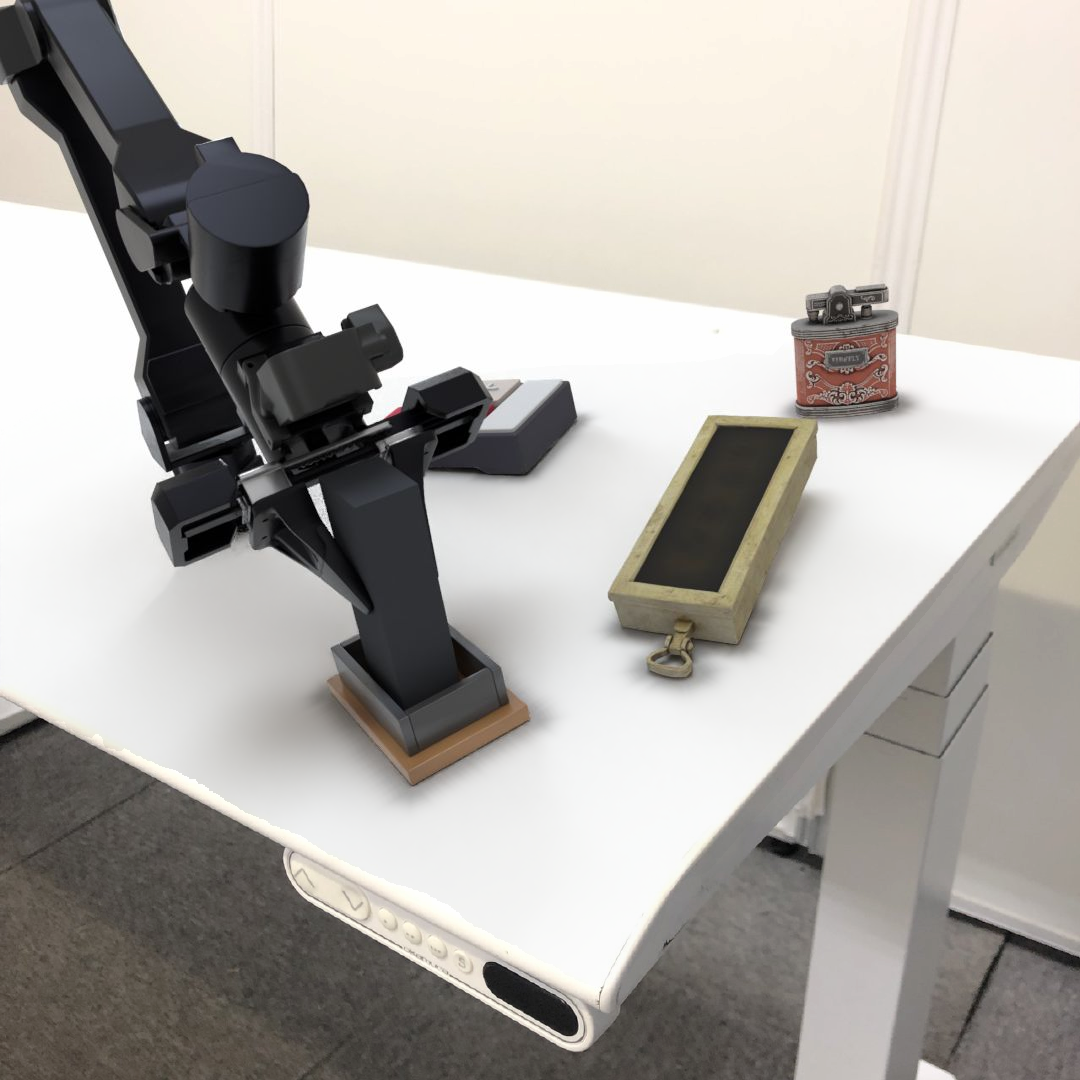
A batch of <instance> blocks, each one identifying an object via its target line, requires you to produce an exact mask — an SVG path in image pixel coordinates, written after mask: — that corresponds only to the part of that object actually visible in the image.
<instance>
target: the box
mask: <svg viewBox="0 0 1080 1080" xmlns="http://www.w3.org/2000/svg"><path fill="white" fill-rule="evenodd" d="M818 432H819V423H818V419H816V418H806V417H783V416H782V417H781V416H780V417H779V416H759V415H758V416H757V415H755V416H754V415H724V414H712V415H711V414H710V415H707V417H706V418H705V421H704V422H703V424H702V425H701V427H700V429H699V430H698V433H697V434H696V435H695V438H694V440H693V442H692V444H691V445H690V447H689V449H688V451H687V453H686V454H685V456H684V458H683V460H682V461H681V464H680V465H679V467H678V468H677V470H676V471H675V473H674V475H673V476H672V479H671V480H670V483H669V484H668V486H667V487H666V488H665V491H664V492H663V494H662V496H661V498H660V499H659V502H658V503H657V505H656V506H655V508H654V510H653V512H652V514H651V516H650V517H649V519H648V521H647V522H646V524H645V525H644V527H643V529H642V531H641V532H640V534H639V536H638V538H637V539H636V541H635V543H634V545H633V547H632V548H631V551H630V552H629V554H628V555H627V557H626V559H625V561H624V563H623V564H622V566H621V568H620V570H619V571H618V573H617V575H616V576H615V578H614V580H613V581H612V584H611V585H610V588H609V590H608V591H607V598H608V600H609V601H610V602H613V605H614V609H615V611H616V615H617V618H618V621H619V623H620V626H621V628H626V629H627V628H628V629H634V630H639V631H644V632H650V633H656V634H657V633H658V634H664V635H667V636H666V638H665V640H664V641H663V644H662V645H663V647H661V648H659V649H657V650H655V651H652V652H651V653H649V654H648V655H647V656H646V666H647V668H648V669H649V671H651V672H653V673H656V674H658V675H661V676H666V677H670V678H683V677H685V678H686V677H688V676H689V675H690V673H691V672H692V671H693V667H694V664H693V659H691V657H690V655H691V654H692V653H693V652H695V645H694V643H693V642H692V640H691V639H697V640H704V641H710V642H718V643H725V644H731V645H736V644H739V642H740V640H741V638H742V636H743V633H744V631H745V628H746V625H747V624H748V621H749V619H750V616H751V614H752V611H753V609H754V607H755V604H756V602H757V600H758V597H759V594H760V592H761V590H762V587H763V585H764V582H765V580H766V578H767V575H768V573H769V571H770V569H771V567H772V564H773V562H774V559H775V557H776V555H777V552H778V550H779V548H780V546H781V543H782V542H783V539H784V537H785V534H786V532H787V529H788V528H789V525H790V524H791V521H792V518H793V516H794V514H795V512H796V510H797V507H798V505H799V503H800V501H801V498H802V496H803V493H804V491H805V488H806V486H807V483H808V482H809V480H810V477H811V474H812V472H813V469H814V467H815V464H816V462H817V459H818V437H817V434H818ZM669 655H670V656H671V655H675V656H681V659H682V660H683V661H684V664H683V665H680V666H670V665H665V664H662V663H661V664H660V663H657V662H656V661H658V660H659V659H662V658H665V657H667V656H669Z"/></svg>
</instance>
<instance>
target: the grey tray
mask: <svg viewBox="0 0 1080 1080" xmlns="http://www.w3.org/2000/svg"><path fill="white" fill-rule="evenodd" d="M448 626H449V631H450V635H451V640H452V645H453V649H454V654H455V659H456V664H457V668H458V673H459V678H460V682H458V683H456V684H454V685H452V686H450V687H449V688H447V689H445V690H443V691H441V692H439V693H437V694H435V695H434V696H432V697H430V698H428V699H426V700H424V701H422V702H420V703H418V704H417V705H415V706H413V707H411V708H409V709H407V710H405V712H404V711H403V710H402V709H401V708H400V707H399V706H398V705H397V704H396V703H395V702H394V701H393V700H392V699H391V697H390V696H389V695H388V694H387V693H386V692H385V691H384V690H383V689H382V688H381V687H380V686H379V685H378V684H377V683H376V682H375V681H374V680H373V679H372V678H371V677H370V673H369V669H368V665H367V662H366V658H365V654H364V650H363V646H362V643H361V639H360V635H359V633H357V634H356V635H353V636H351V637H349V638H347V639H345V640H343V641H341V642H339V643H337V644H335V645H333V646H330V648H329V649H330V652H331V655H332V658H333V661H334V664H335V667H336V670H337V674H335V675H333V676H331V677H329V678H327V679H326V682H327V685H328V689H329V691H330V693H331V694H332V695H333V696H334V698H335V699H336V700H337V701H338V702H339V704H340V705H341V706H342V707H343V708H344V709H345V710H346V711H347V713H348V714H349V715H350V716H351V717H352V718H353V720H354V721H355V722H357V724H358V725H359V726H360V728H361V729H362V730H363V731H364V732H365V733H366V735H367V736H368V737H369V738H370V740H372V741H373V743H374V744H375V745H376V746H377V747H378V748H379V750H380V751H381V752H382V753H383V754H384V755H385V756H386V757H387V759H388V760H389V761H390V763H392V765H393V766H394V767H395V768H396V769H397V770H398V771H399V773H400V774H401V775H402V776H403V777H404V778H405V780H406V781H407V782H408V783H409V784H410V785H411V786H415V785H416V784H418V783H420V782H421V781H423V780H425V779H427V778H428V777H431V776H432V775H434V774H436V773H437V772H439V771H441V770H443V769H444V768H446V767H448V766H450V765H451V764H453V763H455V762H457V761H458V760H460V759H462V758H464V757H465V756H467V755H469V754H471V753H473V752H475V751H476V750H479V749H480V748H481V747H483V746H485V745H487V744H489V743H490V742H492V741H493V740H496V739H497V738H499V737H501V736H502V735H504V734H506V733H508V732H510V731H512V730H513V729H515V728H517V727H518V726H520V725H522V724H524V723H526V722H527V721H529V720H531V716H530V712H529V706H528V705H527V704H526V703H525V702H524V701H523V700H522V699H520V698H519V697H518V696H517V695H516V694H515V693H514V692H512V691H511V690H510V689H509V688H508V687H507V686H506V683H505V678H504V674H503V669H502V666H501V665H499V664H498V663H497V662H496V661H494V660H493V659H492V658H491V657H490V656H489V655H488V654H487V653H486V652H484V651H483V650H481V649H480V648H479V647H478V646H477V645H475V644H474V643H473V642H472V641H471V640H469V639H468V638H467V637H466V636H465V635H464V634H462V633H461V632H459V630H457V628H455V627H454V626H453V625H451V624H450V623H449V622H448Z"/></svg>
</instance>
